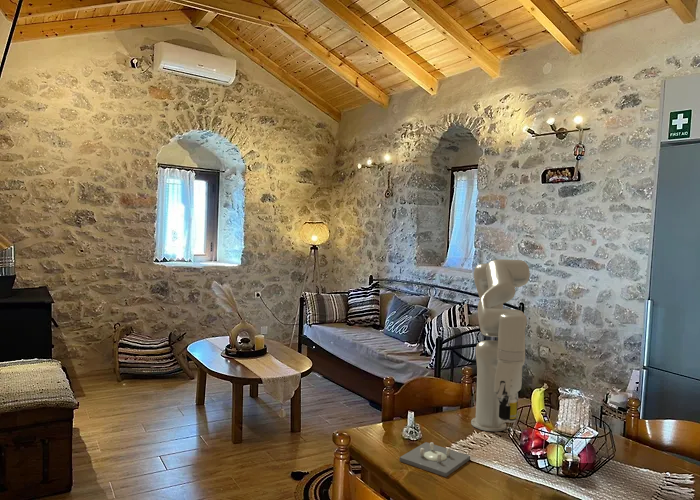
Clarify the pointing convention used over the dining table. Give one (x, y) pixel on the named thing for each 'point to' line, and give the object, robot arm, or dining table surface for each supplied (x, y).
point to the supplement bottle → (511, 408)
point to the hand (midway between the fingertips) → (508, 415)
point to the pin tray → (435, 459)
